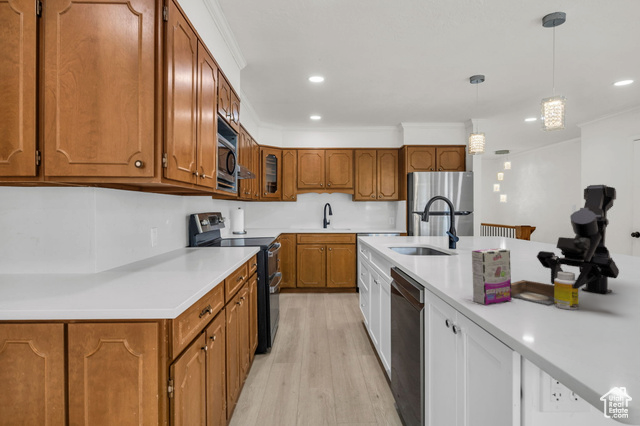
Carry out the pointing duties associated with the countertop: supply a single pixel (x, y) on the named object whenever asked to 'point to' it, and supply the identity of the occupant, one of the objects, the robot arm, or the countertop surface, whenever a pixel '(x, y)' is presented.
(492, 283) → the candy bar box
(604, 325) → the countertop surface
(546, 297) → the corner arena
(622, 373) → the countertop surface
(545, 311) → the countertop surface
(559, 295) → the supplement bottle
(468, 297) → the countertop surface
